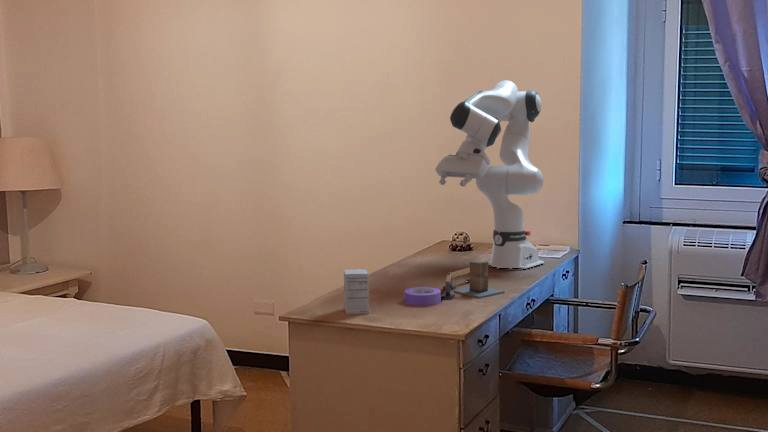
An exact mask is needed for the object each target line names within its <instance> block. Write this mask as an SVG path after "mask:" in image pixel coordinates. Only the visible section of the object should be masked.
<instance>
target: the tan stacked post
mask: <svg viewBox="0 0 768 432" xmlns="http://www.w3.org/2000/svg"><path fill="white" fill-rule="evenodd" d="M469 267H470V273H469V278H470V282H469V288H470V291H472V292H478V293H482V292H485V291H488V288H489V261H487V260H486V261H485V260H482V259H481V260H480V259H476V260H471V261H469Z"/></svg>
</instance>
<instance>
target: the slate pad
mask: <svg viewBox="0 0 768 432" xmlns="http://www.w3.org/2000/svg"><path fill="white" fill-rule="evenodd" d="M500 293H502V294H505V290H502V289H496V288H492V287H488V291H485V292H482V293H478V292H472V291H470V287H466V288H460V289H454V290H453V294H458V295H459V294H460V295H464V296H467V295H468V297H471V298H472V297H473V298H477V299H483V298H487V296H488V297H493V296H496V294H497V295H501V294H500Z"/></svg>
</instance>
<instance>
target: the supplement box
mask: <svg viewBox="0 0 768 432" xmlns="http://www.w3.org/2000/svg"><path fill="white" fill-rule="evenodd" d="M369 286H370V285H369V271H368V270H367V269H366V268H365V269H364V268H357V269H354V268H353V269H343V295H344V296H343V297H344V300H343V301H344V306H343V307H344V310H345V314H346V315H359V314H360V315H362V314H363V315H364V314H367V315H368V314H369V313H370V302H369V301H370V295H369V294H370V293H369V292H370V291H369V288H370V287H369Z"/></svg>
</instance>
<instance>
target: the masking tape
mask: <svg viewBox="0 0 768 432" xmlns="http://www.w3.org/2000/svg"><path fill="white" fill-rule="evenodd" d="M403 293H404V303H405V304H406V305H410V306H415V307H416V306H418V307H426V306H427V307H428V306H435V305H439V304H440V303H441V302H442V301H441V300H442V299H441V295H442V294H441V293H442V292H441V290H440V289H439V288H436V287H431V286H429V287H428V286H415V287H409V288H406V289H405V290H404V292H403Z"/></svg>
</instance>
